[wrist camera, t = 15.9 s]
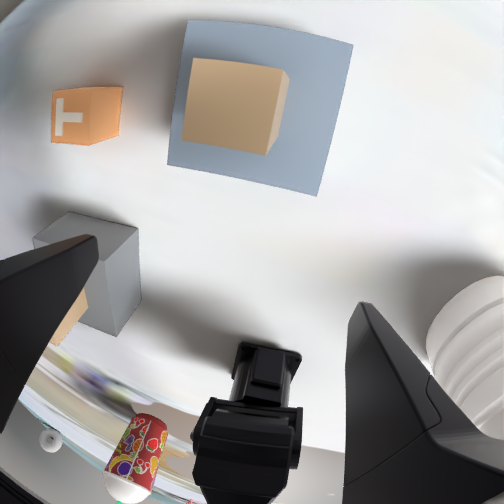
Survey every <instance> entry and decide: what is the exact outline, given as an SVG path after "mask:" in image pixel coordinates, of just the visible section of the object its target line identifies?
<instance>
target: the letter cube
mask: <svg viewBox="0 0 504 504" xmlns="http://www.w3.org/2000/svg"><path fill="white" fill-rule="evenodd" d="M122 92H123V87H81V88H72V89H64V90H57V91H53V97H52V117H51V142H52V143H65V144H76V145H86V146H89V145H92V144H95V143H98V142H101V141H103V140H106V139H109V138H112V137H115V136H119V123H120V111H121V101H122Z"/></svg>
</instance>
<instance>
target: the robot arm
mask: <svg viewBox="0 0 504 504" xmlns="http://www.w3.org/2000/svg"><path fill="white" fill-rule="evenodd" d="M98 260H99V250H98V240H97V237H96V236H94V235H91V234H82V235H79V236H76V237H72V238H69V239H66V240H62V241H59V242H56V243H52V244H49V245H46V246H43V247H40V248H37V249H33V250H30V251H27V252H24V253H21V254H18V255H15V256H12V257H9V258H6V259H5V260H4V259H3V260H1V261H0V433H2V432H3V430H4V428H5V425H6V423H7V421H8V419H9V416H10V414H11V412H12V410H13V408H14V406H15V404H16V402H17V400H18V398H19V396H20V394H21V392H22V390H23V388H24V385H25V384H26V382H27V380H28V378H29V376H30V375H31V373H32V371H33V369H34V367H35V365H36V364H37V362H38V360H39V358H40V357H41V355H42V353H43V351H44V350H45V348H46V346H47V345H48V343H49V341H50V340H51V338H52V336H53V335H54V333H55V332H56V330H57V328H58V327H59V325H60V324H61V322H62V321H63V319H64V317H65V316H66V314H67V313H68V311H69V310H70V308H71V307H72V305H73V304H74V302H75V301H76V299H77V298H78V296H79V295H80V293H81V291H82V289H83V288H84V286H85V284H86V282H87V280H88V279H89V277H90V275H91V273H92V272H93V270H94V268H95V266H96V265H97V263H98ZM301 361H302V356H301V355H299V354H295V353H290V352H285V351H280V350H276V349H271V348H267V347H262V346H258V345H254V344H249V343H245V342H241V343H240V344H239V347H238V351H237V355H236V359H235V364H234V368H233V372H232V377H231V378H232V379H233V380H234V383H233V387H232V390H231V394H230V398H229V401H228V400H222V399H217V398H215V397H210V400H209V402H208V403H207V404H206V406H205V408H204V410H203V412H202V414H201V416H200V418H199V420H198V422H197V424H196V426H195V428H194V430H193V431H192V432H191V435H190V438H191V439H192V441H193V452H194V455H196V461H195V465H194V469H193V472H192V474H193V478H194V481H195V484H196V485H197V486H200V488H201V491H202V493H203V495H204V497H205V499H206V502H207V504H271V503H272V502H273V501H274V499H275V498H276V497H277V496H278V495H279V494H280V493H281V491H283V489H284V488H285V487H286V485H287V480H288V474H289V469H297V467H298V463H299V458H300V451H301V442H302V421H303V407H297V408H291V407H288V401H289V391H290V383H291V381H292V379H293V377H294V375H295V373H296V371H297V369H298V367H299V365H300V363H301ZM345 381H346V446H345V471H344V472H345V473H344V487H343V500H342V504H504V440H500V439H496V438H492V437H489V436H487V435H485V434H484V433H482V432H481V431H480V430H479V429H478V428H477V427H476V426H475V425H474V424H473V423H472V421H471V420H470V419H469V418H468V417H467V416H466V415H465V414H464V412H463V411H462V410H461V409H460V408H459V407H458V406H457V405H456V404H455V402H454V401H453V400H452V399H451V398H450V397H449V396H448V395H447V393H446V392H445V391H444V390H443V389H442V387H441V386H440V385H439V384H438V382H437V381H436V380H435V379H434V377H433V376H432V375H430V372H429V371H428V370H427V369H426V367H425V366H424V365H423V364H422V363H421V361H420V360H419V359H418V358H417V356H416V355H415V354H414V353H413V352H412V350H411V349H410V348H409V347H408V346H407V344H406V343H405V342H404V341H403V340H402V338H401V337H400V336H399V335H398V334H397V333H396V331H395V330H394V329H393V328H392V327H391V325H390V324H389V323H388V322H387V321H386V320H385V319H384V317H383V316H382V315H381V314H380V313H379V312H378V310H377V309H376V308H375V307H374V306H373V305H372V304H371V303H366V302H359V303H358V304H357V306H356V308H355V310H354V312H353V314H352V316H351V318H350V320H349V323H348V334H347V349H346V362H345ZM0 504H50V503H48V502H47V501H45V500H44V499H42V498H41V497H39V496H38V495H36V494H35V493H33V492H32V491H31V490H29V489H28V488H27V487H25V486H24V485H22V484H21V483H20V482H18V481H17V480H16V479H14V478H13V477H12V476H11V475H9V474H8V473H7V472H6V471H4V470H3V469H2V468H1V467H0Z"/></svg>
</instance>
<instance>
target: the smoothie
mask: <svg viewBox="0 0 504 504" xmlns="http://www.w3.org/2000/svg"><path fill="white" fill-rule="evenodd" d="M167 436H168V433H167V427H166V425H165V423H163V422H162V421H161V420H159V419H158V418H156V417H154V416H152V415H149V414H143V413H140V414H138V415H137V416H136V417H134V418H132V420H131V422H130V424H129V425H128V427H127V429H126V431H125V433H124V435H123V436H122V438H121V440H120V442H119V444H118V446H117V447H116V449H115V451H114V453H113V455H112V457H111V459H110V460H109V462H108V464H107V466H106V468H105V470H104V471H103V473H102V474H103V475H104V485H105V488H106V490H107V491H108V493H109V494H110V495H111V496H112V497H113V498H114V499H116V500H117V504H121V503H126V504H135V503H138V502H141V501H143V500H144V499H145V498H146V497H147V496H148V495H151V491H152V488H153V485H154V481H155V477H156V474H157V470H158V467H159V463H160V460H161V456H162V453H163V449H164V446H165V442H166V439H167Z"/></svg>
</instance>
